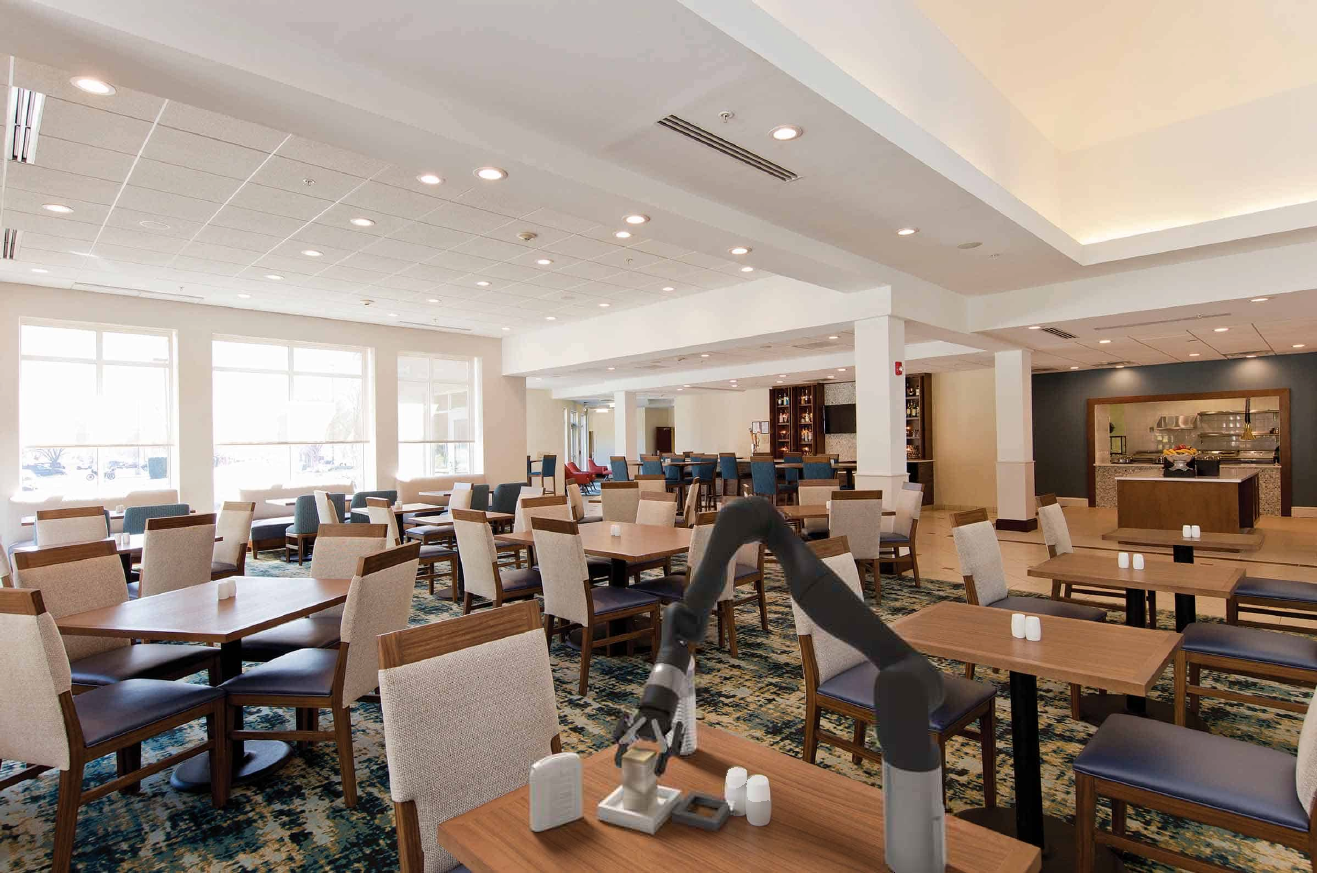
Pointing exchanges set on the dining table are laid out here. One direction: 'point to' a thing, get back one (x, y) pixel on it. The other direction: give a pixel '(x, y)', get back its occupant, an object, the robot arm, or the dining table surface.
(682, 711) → the water bottle
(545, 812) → the white rounded slab
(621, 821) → the tray
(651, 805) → the key block
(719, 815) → the plate
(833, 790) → the dining table surface
